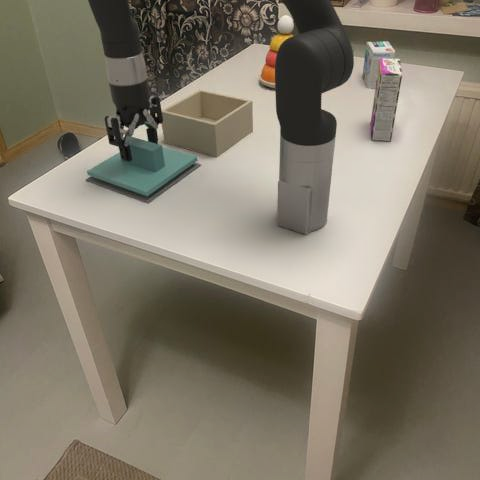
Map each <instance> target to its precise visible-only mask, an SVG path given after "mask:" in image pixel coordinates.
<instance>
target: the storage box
mask: <svg viewBox="0 0 480 480" xmlns="http://www.w3.org/2000/svg"><path fill="white" fill-rule="evenodd" d="M253 105H254V104H253V100H251V99H246V98H241V97H236V96H231V95H227V94H222V93H218V92H212V91H208V90H203V89H199V90H197V91H195V92H193V93H191V94H189V95H187V96H185V97H184V98H182V99H180V100H178V101H176V102H174V103H173V104H170V105H168V106H167V107H165V108H163V109H161V110H162V117H163V123H162V124H161V129H162V135H163V142H164V143H166V144H169V145H173V146H176V147H179V148H183V149H188V150H191V151H195V152H198V153H200V154H205V155H208V156H211V157H215V158H218V157H220V156H221V155H222V154H223V153H226V152H227V151H228V150H229V149H231V148H232V147H234V146H235V145H236V144H237V143H239V142H240V141H242V140H243V139H244V138H246V137H247V136H248V135H250V134H251V133H253V131H254V121H253V120H254V119H253V118H254V116H253V111H254V110H253Z"/></svg>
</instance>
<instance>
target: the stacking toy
mask: <svg viewBox="0 0 480 480" xmlns="http://www.w3.org/2000/svg"><path fill="white" fill-rule="evenodd" d="M294 24H295V22H294V20H293V18H292V17H291V16H289V15H286V14H285V15H282V16H281V17H280V18H279V19H278V22H277V26H276V27H277V31H278V32H279V33H277V34H276V35H274V36H273V38H272V39H271V41H270V44H269V50H268V51H267V52H266V53H267V54H266V56H265V60H264V62H265V63H264V65H263V67H262V70H261V73H260V75H259V76H258V77H259V78H258V79H259V82H260V83H261V84H262V85H264V86H265V87H269V88H272V89H275V61H276V56H277V52H278V49H279V47H280V45H281V44H282V43H283V42H284V41H285V40H286V39H288V38H290V37H292V36H294V35H293V34H292V32H293V30H294V27H295V25H294Z"/></svg>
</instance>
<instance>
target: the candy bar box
mask: <svg viewBox="0 0 480 480" xmlns="http://www.w3.org/2000/svg"><path fill="white" fill-rule="evenodd" d="M402 79H403V70H402V64H401V59H400V58H394V59H392V58H387V59H386V58H380V59H379V65H378V72H377V80H376V87H375V88H374V89H375V90H374V96H373V102H372V109H371V117H370V118H371V119H370V136H371V137H370V138H371V141H373V142H388V143H389V142H392V137H393V130H394V125H395V121H396V113H397V107H398V102H399V97H400V89H401V84H402Z"/></svg>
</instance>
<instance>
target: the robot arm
mask: <svg viewBox="0 0 480 480" xmlns="http://www.w3.org/2000/svg"><path fill="white" fill-rule="evenodd" d="M87 1H88V5H89V7H90V9H91V12H92V15H93V18H94V20H95V23H96V24H97V27H98V29H99V32H100V33H99V34H100V40H101V44H102V49H103V53H104V54H103V55H104V63H105V64H104V65H105V71H106V75H107V81H108V86H109V91H110V97H111V100H112V103H113V105H114V106H115V108H116V110H115V114H114V115H112V116H110V115H105V117H104V124H105V129H106V134H107V139H108V140H107V141H108V144H109V145H112V146H115V147H118V150H119V151H118V152H120V156H121V158H122V159H123V160H124V161H127V162H130V161H132V155H131V150H130V145H129V141H130V137H133V135H134V132H135V130H136V129H138V128H139V127H140V126H143V125H144V126H145V127H146V129H145V130H146V136H147V141H149V142H152V143H156V144H159V135H158V128H159V126H160V125H162V123H163V117H162V110H163V109H162V105H161V98H160V97H159V96H156V95H151V92H150V85H149V81H148V73H147V67H146V61H145V58H144V55H143V48H142V41H141V35H140V30H139V27H138V24H137V22H136V21H135V20H134V19H133V18H132V15H131V11H130V7H129V0H87ZM280 1H281V2H282V4H283V5H284V7H285V8H286V9H287V11H288V13H289V14H290V17H291V19H292V20H293V23H294V24H295V25H294V26H296V30H297V32H298V34H296V35H293V36H292V37H290V38H288V39H286V40H285V41H284V42H283V43H282V44H281V45H280V47H279V49H278V52H277V56H276V61H275V90H274V91H275V112H276V117H277V120H278V122H279V124H278V125H279V126H280V127H279V129H280V130H279V133H280V138H279V163H278V165H279V169H278V170H279V173H278V182H277V202H276V203H277V204H276V206H277V207H276V209H277V211H276V213H277V214H276V225H277V226H279V227H282V228H285V229H288V230H292V231H294V232H297V233H300V234H303V235H308V234H309V233H310V232H313V231H316V230H319V229H321V228H322V227H324V226H325V225H326V223H327V221H328V215H329V214H328V213H329V203H330V193H331V183H332V175H333V173H332V172H333V164H334V155H335V146H336V136H337V135H336V134H337V128H338V126H337V125H338V123H337V118H336V117H335V115H334V114H333V113H331V112H329V111H328V110H325V109H323V108H322V94H324V93H326V92H330V91H332V90H335V89H337V88H339V87H341V86H342V85H344V84H345V83H347V81H348V80H349V79H350V78H351V76H352V74H353V70H354V64H355V58H354V51H353V47H352V44H351V41H350V38H349V35H348V34H347V32H346V29H345V27H344V25H343V23H342V21H341V20H340V17H339V15H338V13H337V12H336V9H335V7H334V4H332V1H331V0H280ZM124 128H127V129H124ZM123 137H124V140H123Z"/></svg>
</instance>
